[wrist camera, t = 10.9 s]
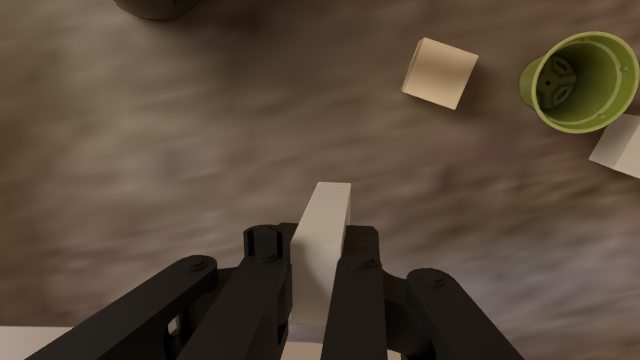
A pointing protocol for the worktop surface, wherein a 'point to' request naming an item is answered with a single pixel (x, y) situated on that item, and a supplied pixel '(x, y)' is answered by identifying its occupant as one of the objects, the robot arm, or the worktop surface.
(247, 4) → the worktop surface
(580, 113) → the plant pot
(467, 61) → the birch block
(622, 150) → the grey block
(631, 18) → the worktop surface
